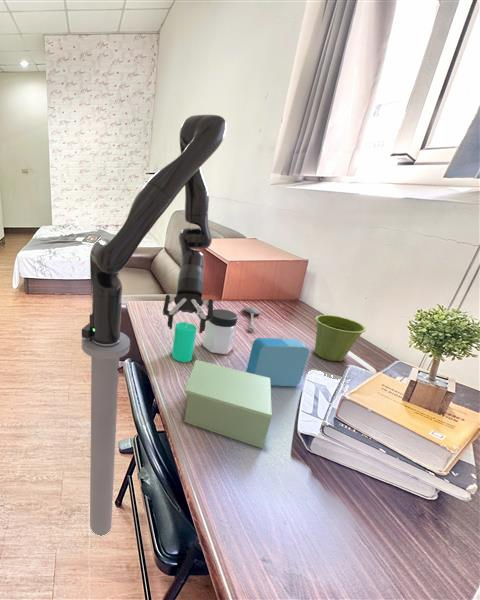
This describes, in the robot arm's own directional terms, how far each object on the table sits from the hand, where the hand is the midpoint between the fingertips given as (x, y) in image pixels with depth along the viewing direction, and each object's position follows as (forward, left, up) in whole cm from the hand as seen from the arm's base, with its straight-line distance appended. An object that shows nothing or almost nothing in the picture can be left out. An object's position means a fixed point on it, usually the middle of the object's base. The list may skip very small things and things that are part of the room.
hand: (185, 330), depth 92 cm
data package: (+24, -1, -10) cm, 26 cm away
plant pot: (+40, +22, -10) cm, 47 cm away
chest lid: (+13, -21, -2) cm, 25 cm away
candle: (0, 0, -10) cm, 10 cm away
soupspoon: (+18, +39, -10) cm, 44 cm away
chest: (+14, -21, -9) cm, 27 cm away
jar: (+9, +11, -10) cm, 17 cm away
